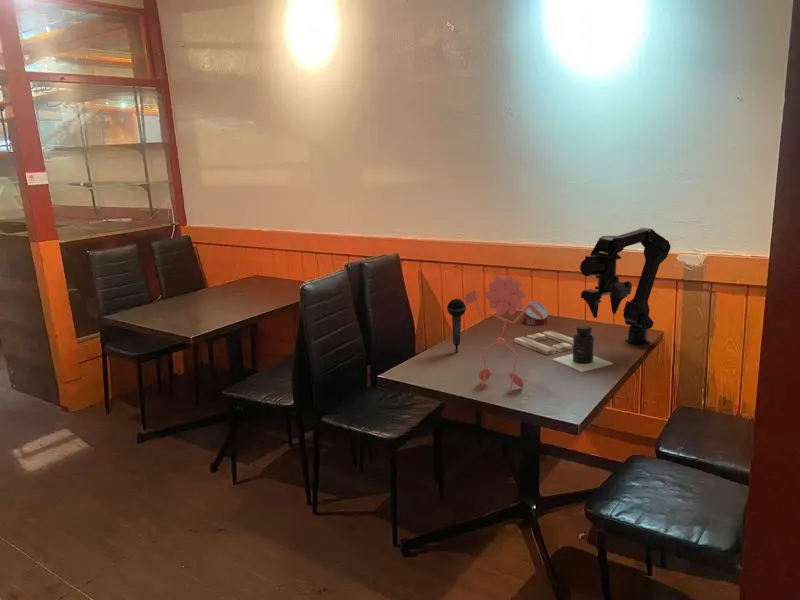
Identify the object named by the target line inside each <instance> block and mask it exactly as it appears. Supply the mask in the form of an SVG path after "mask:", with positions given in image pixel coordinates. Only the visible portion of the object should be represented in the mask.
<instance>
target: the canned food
mask: <svg viewBox="0 0 800 600" xmlns="http://www.w3.org/2000/svg"><path fill="white" fill-rule="evenodd" d="M528 303H530V304H531V305H532V306H534V307H535V308H536V309H537V310H538V311H539V312H540V313H541V314H542V315H543V318H544V320H542V319H541V318H540V317H538V316H537V315H536V314H535V313H533V312H532V311H531V309H530V308H529V307H528V308H527V309H526V311H525V312H524V313H523V314H522V316H523V317H522V319H523V320H522V321H523V322H524V323H525V324H524V323H523V322H522V323H523V324H524V325H527V326H531V325H534V327H536V326H535V325H541V326H545V325H547V324H548V315H549V314H548V313H549V312H548V310H547V308H546V307H545V306H544V305H543V304H542V302H540V301H536V300H532V301H529V302H528ZM528 303H526V305H525V307H524V309H525V308H526V307H527V305H528ZM544 324H545V325H544Z"/></svg>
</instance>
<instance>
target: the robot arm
mask: <svg viewBox="0 0 800 600" xmlns="http://www.w3.org/2000/svg"><path fill="white" fill-rule="evenodd" d="M636 244H641V245H642V246H643V247H644V248H643V255H644V256H643V257H644V260H645V261H644V264H643V268H642V271H641V274H640V278H639V280H638V284H637V286H636V289H635V293H634V296H633V298H632V299H631V300H630V301H629V300H626V302H625V306H624V308H623V310H622V311H623V314H622V315H623V316H622V317H623V319H624V324H625V325H627V326H629V328H628V329H629V330H628V335H627V337H628V338H626V339H624V341H625V342H628V343H631V344H633V345H637V346H641V345H645V344H649V343H651V340H649V339H648V332H649V331H648V330H650V329H652V328H653V326H654V321H653V319H652V318H651V317H650V316H649V315H650V312H651V311H650V305H649V298H650V296H651V293H652V290H653V286H654V282H655V280H656V276H657V273H658V270H659V268H660V265H661V264H662V262H664V260H666V259H667V258H668V255H669V254H670V251H671V247H672V246H671V244H670V241H669V240H667V239H666V238H664V237H663V236H661V235H660V234H659V233H657V232H656V231H655V230H654V229H652V228H648V227H647V228H646V227H641V228H639V229H636V230H632V231H629V232H626V233H623V234H619V235H602V236H600V237H598V240H597V241H596V244H595V246H594V247H593V249H592V250H591V252H590V255H585V257H584V259H583V260H582V261H581V263H580V265H579V269H580V273H581V274H582V275H583V276H585V277H591V276H595V279H598V281H597V285H596V286H595V287H594V289H592V288H589V289H584V290H582V291H580V298H581V299H583V300H584V301H585V303H587V306H588V308H589V310H590V312H591V314H592V317H593V318H595V319H597V318H598V313H599V304H601V302H602V300H601V299H602V296H607V295H609V299H610V307H611V313H612V314H613V315H616V314H617V311H618V309H619V307H620V305H621V302H622V300H624V299H625V298H626V297H628V296H629V295H631V292H632V287H633V286H632V285H633V283H632V282H631V281H624V282H623V281H622V282H621V281H620V279H619V278H620V277H619V276H618V275H617V260H621V259H622V257H621V255H619V253H620V252H623V251H624V249H625V248H627V247H629V246H633V245H636Z"/></svg>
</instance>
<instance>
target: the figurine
mask: <svg viewBox="0 0 800 600" xmlns="http://www.w3.org/2000/svg"><path fill="white" fill-rule="evenodd" d="M521 286H522V282H521V281H519V280H513V276H512V275H507V276H505V278H502V276H501V275H499V274H498V275H497V274H496V276H495V277H494V280H493V281H490V282H489V283H488V287H489V291H486V292H485V293H484V297H485V298H486V299H487V300H488V301H490V302H489V308H491V309H496V314H481V312H480V306H479V301H478V298H479V292H478V291H477V290H476V289H474V290H470V291H468V292H467V293H466V294H465V296H464V301H465V304H467V305H469V304H471V303H473V302H474V303H476V308H477V312H478V313H477V314H478V315H479V316H478V317H496V318H499V319H500V320H501V321H502V322H504V325H503V327H502V331H501V334H500V337H498V338H496V341H495V342H494V343H491V344H489V345H488V346H486V347H484V348H482V349H481V352H482V360H483V366H484V368H482V369H480V371H479V373H478V376H479V377H478V378H479V379H480V380H481V381H482V384H481V389H482V390H483V389H484V385H485V382H486V381H487V380H489V379H490V378H491V376H492V372H491V369H490V368H488V367H486V360H485V353H484V351H485V350H486V349H488V348H490V347H492V346H494V345H495V344H496V345H497V346H499V347H503V346H504V345H505V346H506V347H508V348H509V350H511V351H512V352H513V353H514V354H515V355H514V364H513V372H509V374H504V375H505V376H507V377H509V378H510V385H509V386H510V387H509V391H508V394H512V389H513V385H514V384H515V385H516V386H518V387H520V388H522V389H523V387H524V381H523V378H521V377H520V376H519V375H518V374H516V363H517V352H516V351H515V350H514V349H513V348H511V347H510V346H509V345H508V344H507V343H506V340H505V339H504V337H503V335H504V331H505V329H506V326H507V324H508V323H510V324H512V325H514V324H515V323H517V321H518V320H519V319H520V318H521V316H523V315H524V314H525V313H526V312H525V311H526V309H527V308H528V307H529V308H530V309H531V311H532V312H533V313H535V314H536V315H537V316H538V317H540V318H541V319H542V320H544V318H543V315H542V314H541V313H540V312H539V311H538V310H537V309H536V308H535V307H534V306H532V305H531V304H530V303H529V302H528V303H527V304H528V305H527V304H526V305H527V307H526V308H525V307H524V304H523V300H522V299H524V298H526V293H525V292H524V291H523V290H522V289H520V288H521ZM523 307H524V309H523ZM517 309H522V311H521V312H520V313H519V315H518V316H517V317H516V318H515V319H514V321H512V320H510V319H507V318H506V317H503V316H502V315H505V314H506V312H507V313H508V314H509V315H510V316H515V313H516V312H517ZM530 397H531V395H529V396H527V398H530Z"/></svg>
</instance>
